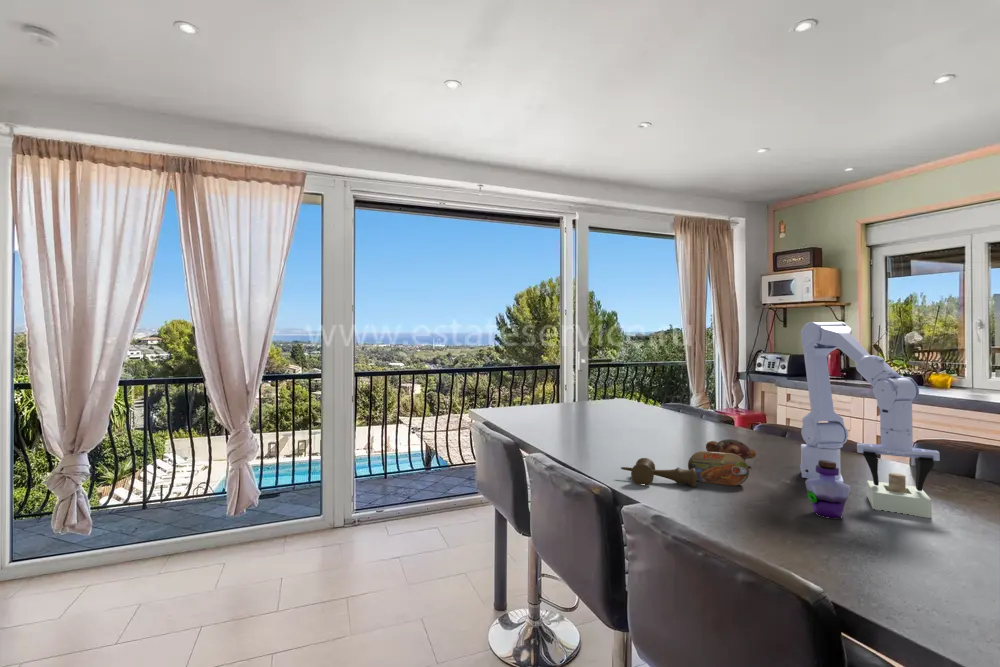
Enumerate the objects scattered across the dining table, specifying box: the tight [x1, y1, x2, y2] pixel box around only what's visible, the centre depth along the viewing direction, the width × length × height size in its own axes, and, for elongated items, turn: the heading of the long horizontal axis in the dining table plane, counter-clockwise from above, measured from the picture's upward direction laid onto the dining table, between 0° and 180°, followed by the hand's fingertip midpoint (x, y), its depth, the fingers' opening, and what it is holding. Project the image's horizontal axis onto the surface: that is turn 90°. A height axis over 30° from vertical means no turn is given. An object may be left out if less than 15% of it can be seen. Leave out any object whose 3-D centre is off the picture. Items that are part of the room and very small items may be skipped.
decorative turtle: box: [705, 439, 757, 462], centre depth 142 cm, size 10×15×8 cm, turn 96°
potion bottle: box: [804, 460, 851, 518], centre depth 103 cm, size 9×9×12 cm
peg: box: [888, 472, 907, 493], centre depth 107 cm, size 3×3×7 cm
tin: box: [687, 450, 750, 486], centre depth 126 cm, size 15×3×8 cm, turn 64°
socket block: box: [866, 479, 933, 519], centre depth 107 cm, size 10×10×4 cm
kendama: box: [620, 457, 698, 488], centre depth 127 cm, size 6×10×20 cm
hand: (897, 486), depth 107 cm, fingers open, 7 cm apart
